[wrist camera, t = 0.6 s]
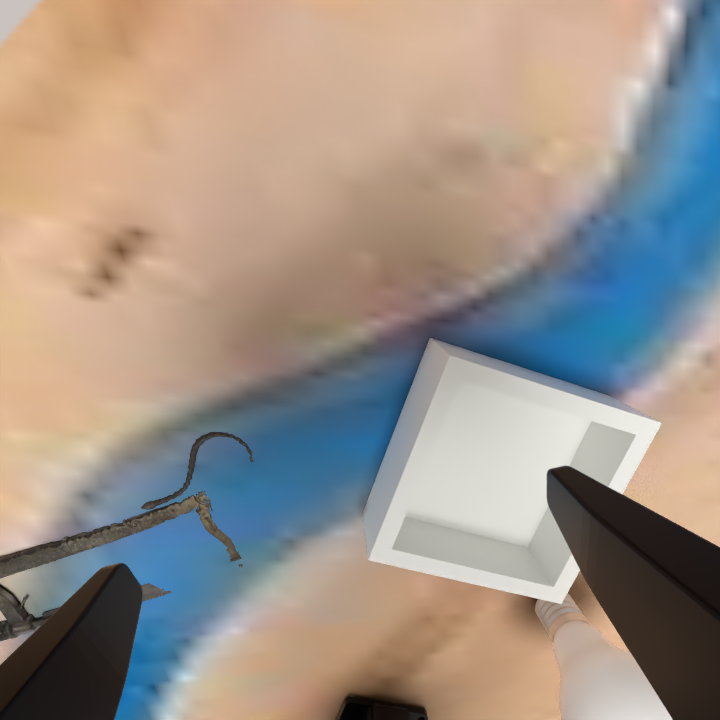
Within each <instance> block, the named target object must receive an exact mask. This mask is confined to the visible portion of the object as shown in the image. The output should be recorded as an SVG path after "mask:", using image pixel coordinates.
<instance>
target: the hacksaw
mask: <svg viewBox="0 0 720 720" xmlns="http://www.w3.org/2000/svg"><path fill="white" fill-rule="evenodd" d="M218 436H222V437H229V438H234V439H235V440H237V441H239V443H241V444H242V445H244V446H245V447H246V449H247V451H248V452H249V454H250V455H251V456H250V461H251V462H254V461H253V458H252V451H251V450H250V448H249V447H248V446H247V444H246V443H245V442H243V441H242V440H241V439H240V438H238V437H235V436H234V435H232V434H231V435H229V434H228V433H222V432H210V433H208V434H206V435H203V436H201V437H200V438H199V439H197V440H196V442H195V444H193V447H192V449H191V453H190V460H189V466H188V468H189V471H188V473H187V478H186V483H184V485H183V488H181V489H180V490H179V491H177V492H175V493H174V494H173V495H169V496H168V497H165V498H162V499H159V500H155V501H149V502H147V503H145V504H144V505H143V506H142V507H141V508H142V509H148V510H149V509H153V508H154V507H155V506H157V505H160V504H162V503H165V502H168V501H169V500H171V499H174V498H176V497H177V496H180V495H181V494H182V493H183V492H184V491H185V490H186V489H187V487H188V486H189V485H190V480H191V479H192V474H193V471H194V467H195V461H196V454H197V451H198V448H199V446H200V445H201V444H203V442H204V441H206V440H208V439H210V438H212V437H218ZM202 492H203V491H202ZM202 492H200V493H199V494H196V498H195V496H194V495H192V496H191V497H188V498H187V499H184V500H183V501H182V502H181V503H177V502H175V503H172V504H170V505H168V506H165V507H161V508H158V509H155V510H152V511H149V512H146V513H143V514H140V515H137V516H134V517H132V518H130V519H127V520H123V523H121V524H116V523H114V524H111V526H105V527H101V528H99V529H95V530H93V531H92V532H88V533H87V532H84V533H81V534H78V535H75V536H72V537H68V536H67V537H65V538H64V539H63V540H62V541H57V542H51V543H48V544H45V545H40V546H37V547H34V548H31V549H27V550H24V551H21V552H17V553H14V554H11V555H7V556H3V557H0V578H3V577H6V576H9V575H12V574H15V573H18V572H21V571H24V570H27V569H30V568H34V567H38V566H40V565H43V564H47V563H49V562H52V561H56V560H57V559H61V558H64V557H67V556H70V555H73V554H76V553H79V552H82V551H85V550H89V549H92V548H94V547H98V546H101V545H103V544H106V543H110V542H113V541H116V540H118V539H121V538H124V537H127V536H129V535H132V534H135V533H138V532H141V531H143V530H146V529H149V528H151V527H154V526H156V525H158V524H161V523H163V522H164V521H165V520H170V519H174V518H176V517H177V516H179V515H180V514H183V513H184V514H186V513H188V512H190V511H191V510H193V509H194V508H196V507H197V508H198V509H197V510H196V512H197V513H199V514H198V515H200V516H201V517H200V519H201V521H202V523H203V525H204V527H205V529H206V530H207V531H208V532H209V533H210V534H212V535H213V536H214V537H216V538H217V539H219V540H220V541H221V542H222V543H223V544H224V545H225V546H227V547H228V549H227V551H228V553H229V554H230V558H231V560H230V562H231V561H234V560H238V559H241V557H240V555H239V554H238V552H237V551H236V550H235V546H234V544H233V543H232V541H231V539H230V538H229V537H227V536H226V535H225V534H224V533H223V532H222V531H220V530H219V529H218V528H217V526H216V525H215V523H214V522H213V520H212V518H211V515H210V512H209V506H210V507H211V504H210V500H209V497H208V501H207V496H203V495H204V494H206V493H205V491H204V492H203V493H202ZM204 498H206V499H204ZM206 502H207V503H206ZM201 503H206V504H201ZM208 503H209V504H208ZM211 510H212V508H211ZM212 511H213V510H212ZM236 552H237V553H236ZM239 567H242V564H240V565H239ZM141 587H142V592H143V599H142V602H143V601H146V600H149V599H152V598H156V597H159V596H162V595H163V596H164V595H165V594H169V593H171V591H164V592H163V590H164V589H160V588H158V587H156V586H153V585H151V584H149V583H148V584H145V585H141ZM26 600H27V598H25V597H24V598H23V600H22V603H21V605H20V604H19V603H18V601H17V600H16V599H15V598H14V597H13V596H12V595H11V594H10V593H8V592H7V591H5V590H4V589H3V588H1V587H0V610H1V612H2V613H3V615H4V616H5V618H6V619H7V621H3V622H0V641H3V640H7V639H9V638H11V639H12V638H16V637H18V636H19V635H23V634H27V633H31V632H33V631H35V630H37V629H38V627H39V626H41V625H42V624H43V623H44V622H46V621H47V620H48V619H49V618H50V617H51V616H52V615H53V614H54V613H55V612H56V611H57V610H58V609H59V608H57V609H54V610H50V611H47V612H44V613H43V614H42V615H43V617H40V618H34V616H33V615H31V614H30V615H27V613H26V611H25V610H24V609H23V608H22V605H23V602H24V601H26Z"/></svg>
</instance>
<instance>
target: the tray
mask: <svg viewBox="0 0 720 720" xmlns="http://www.w3.org/2000/svg"><path fill="white" fill-rule="evenodd" d="M661 424H662V423H661V422H659V421H657V420H655V419H653V418H651V417H650V416H648V415H646V414H644V413H642V412H640V411H638V410H636V409H634V408H632V407H631V406H629V405H627V404H625V403H623V402H621V401H619V400H617V399H615V398H613V397H611V396H609V395H606V394H603V393H600V392H597V391H594V390H591V389H588V388H584V387H581V386H578V385H575V384H572V383H569V382H566V381H563V380H560V379H557V378H554V377H550V376H547V375H544V374H541V373H538V372H535V371H532V370H529V369H526V368H523V367H520V366H516V365H513V364H510V363H507V362H504V361H501V360H498V359H495V358H492V357H489V356H486V355H482V354H479V353H476V352H473V351H470V350H467V349H464V348H461V347H458V346H455V345H452V344H448V343H445V342H442V341H439V340H436V339H433V338H429V341H428V344H427V346H426V349H425V352H424V354H423V357H422V359H421V362H420V365H419V367H418V370H417V372H416V375H415V378H414V380H413V383H412V385H411V388H410V391H409V393H408V396H407V398H406V401H405V404H404V406H403V409H402V412H401V414H400V417H399V419H398V422H397V425H396V427H395V430H394V432H393V435H392V438H391V440H390V443H389V445H388V448H387V451H386V453H385V456H384V458H383V461H382V464H381V466H380V469H379V472H378V474H377V477H376V479H375V482H374V485H373V487H372V490H371V492H370V495H369V498H368V500H367V503H366V505H365V508H364V511H363V513H362V514H363V522H364V531H365V539H366V547H367V555H368V560H369V561H374V562H378V563H382V564H387V565H391V566H396V567H400V568H404V569H409V570H413V571H418V572H422V573H426V574H431V575H435V576H440V577H444V578H448V579H453V580H457V581H462V582H466V583H470V584H475V585H479V586H484V587H488V588H492V589H497V590H501V591H506V592H510V593H515V594H519V595H523V596H528V597H532V598H537V599H541V600H545V601H550V602H554V603H559V604H562V602H563V600H564V598H565V597H566V595H567V593H568V591H569V589H570V588H571V586H572V584H573V582H574V580H575V579H576V577H577V575H578V573H579V571H580V569H579V567H578V565H577V563H576V561H575V559H574V557H573V555H572V553H571V551H570V549H569V547H568V545H567V543H566V541H565V539H564V537H563V535H562V533H561V531H560V529H559V527H558V525H557V523H556V521H555V519H554V517H553V515H552V513H551V511H550V509H549V506H548V503H547V471H548V470H549V469H551V468H556V467H560V466H570V467H572V468H574V469H576V470H578V471H580V472H582V473H584V474H585V475H587V476H589V477H591V478H593V479H595V480H597V481H598V482H600V483H602V484H604V485H606V486H608V487H609V488H611V489H613V490H615V491H617V492H619V493H621V494H623V492H624V490H625V488H626V487H627V485H628V483H629V481H630V479H631V478H632V476H633V474H634V472H635V470H636V469H637V467H638V465H639V463H640V461H641V460H642V458H643V456H644V454H645V452H646V451H647V449H648V447H649V445H650V443H651V442H652V440H653V438H654V436H655V434H656V433H657V431H658V429H659V427H660V425H661Z"/></svg>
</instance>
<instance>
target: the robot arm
mask: <svg viewBox="0 0 720 720" xmlns="http://www.w3.org/2000/svg"><path fill="white" fill-rule="evenodd" d="M547 503H548V506H549V509H550V511H551V513H552V515H553V517H554V519H555V521H556V523H557V525H558V527H559V529H560V531H561V533H562V535H563V537H564V539H565V541H566V543H567V545H568V547H569V549H570V551H571V553H572V555H573V557H574V559H575V561H576V563H577V565H578V567H579V569H580V571H581V573H582V575H583V577H584V578H585V580H586V582H587V584H588V585H589V587H590V589H591V591H592V592H593V594H594V595H595V597H596V599H597V600H598V602H599V603H600V605H601V607H602V608H603V610H604V611H605V613H606V614H607V616H608V618H609V619H610V621H611V622H612V624H613V626H614V627H615V629H616V630H617V632H618V634H619V635H620V637H621V638H622V640H623V641H624V643H625V645H626V646H627V648H628V649H629V651H630V653H631V654H632V656H633V657H634V659H635V660H636V662H637V664H638V665H639V667H640V668H641V670H642V672H643V673H644V675H645V676H646V678H647V680H648V681H649V683H650V684H651V686H652V687H653V689H654V691H655V692H656V694H657V695H658V697H659V699H660V700H661V702H662V703H663V705H664V707H665V708H666V710H667V711H668V713H669V714H670V716H671V718H672V719H673V720H720V547H718V546H717V545H715V544H713V543H711V542H709V541H707V540H706V539H704V538H702V537H700V536H698V535H696V534H694V533H693V532H691V531H689V530H687V529H685V528H683V527H682V526H680V525H678V524H676V523H674V522H672V521H670V520H669V519H667V518H665V517H663V516H661V515H659V514H657V513H656V512H654V511H652V510H650V509H648V508H646V507H645V506H643V505H641V504H639V503H637V502H635V501H633V500H632V499H630V498H628V497H626V496H624V495H622V494H621V493H619V492H617V491H615V490H613V489H611V488H609V487H608V486H606V485H604V484H602V483H600V482H598V481H597V480H595V479H593V478H591V477H589V476H587V475H585V474H584V473H582V472H580V471H578V470H576V469H574V468H572V467H570V466H560V467H556V468H551V469H549V470H548V471H547ZM142 599H143V592H142V587H141V585H140V584H139V582H138V581H137V579H136V578H135V576H134V575H133V574H132V572H131V571H130V569H129V568H128V566H127V565H125V564H123V563H118V564H114V565H109V566H105V567H103V568H101V569H100V570H99V571H98V572H96V573H95V574H94V575H93V576H92V577H91V578H90V579H89V580H88V581H87V582H86V583H85V584H84V585H83V586H82V587H81V588H80V589H79V590H78V591H77V592H76V593H75V594H74V595H73V596H72V597H70V598H69V599H68V600H67V601H66V602H65V603H64V604H63V605H62V606H61V607H60V608H59V609H58V610H57V611H56V612H55V613H54V614H53V615H52V616H51V617H50V618H49V619H48V620H47V621H46V622H44V623H43V624H42V625H41V626H40V627H39V628H38V629H37V630H36V631H35V632H34V633H33V634H32V635H31V636H30V637H29V638H28V639H27V640H26V641H25V642H24V643H23V644H22V645H21V646H19V647H18V648H17V649H16V650H15V651H14V652H13V653H12V654H11V655H10V656H9V657H8V658H7V659H6V660H5V661H4V662H3V663H2V664H1V665H0V720H114V719H115V716H116V712H117V709H118V706H119V702H120V699H121V695H122V692H123V688H124V684H125V681H126V676H127V672H128V668H129V663H130V658H131V653H132V648H133V644H134V639H135V634H136V629H137V624H138V619H139V614H140V609H141V604H142ZM336 720H428V716H427V712H426V710H425V709H423V708H417V707H411V706H405V705H399V704H394V703H388V702H382V701H376V700H370V699H365V698H359V697H351V696H350V697H347V698H346V699H345V700H344V703H343V705H342V707H341V710H340V712H339V715H338V717H337V719H336Z"/></svg>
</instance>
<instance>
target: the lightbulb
mask: <svg viewBox="0 0 720 720" xmlns="http://www.w3.org/2000/svg"><path fill="white" fill-rule="evenodd" d="M535 612H536V614H537V616H538V618H539V620H540V621H541V623H542V625H543V626H544V629H545V630H546V632H547V634H548V636H549V637H550V639H551V641H552V643H553V651H554V655H555V658H556V661H557V664H558V667H559V671H560V682H559V709H560V715H561V720H673V719H672V718H671V716H670V714H669V713H668V711H667V710H666V708H665V707H664V705H663V703H662V702H661V700H660V699H659V697H658V695H657V694H656V692H655V691H654V689H653V687H652V686H651V684H650V683H649V681H648V680H647V678H646V676H645V675H644V673H643V672H642V670H641V668H640V667H639V665H638V664H637V662H636V660H635V659H634V657H633V656H632V654H631V653H630V651H628V650H625V649H623V648H621V647H619V646H617V645H615V644H614V643H612V642H611V641H610V640H609V639H608V638H607V637H606V636H605V635H604V634H603V633H602V632H601V631H600V630H598V629H597V628H596V627H594V626H593V625H591V624H590V623H589V622H588V620H587V619H586V617H585V616H584V615H583V613H582V612H581V611H580V609H579V607H578V606H577V605H576V603H575V602H574V600H572V597H571V596H570V595H569V594H568V593H567V595H566V597H565V598H564V600H563V602H562V604H559V603H554V602H550V601H545V600H541V599H538V600H537V602H536V605H535Z"/></svg>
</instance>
